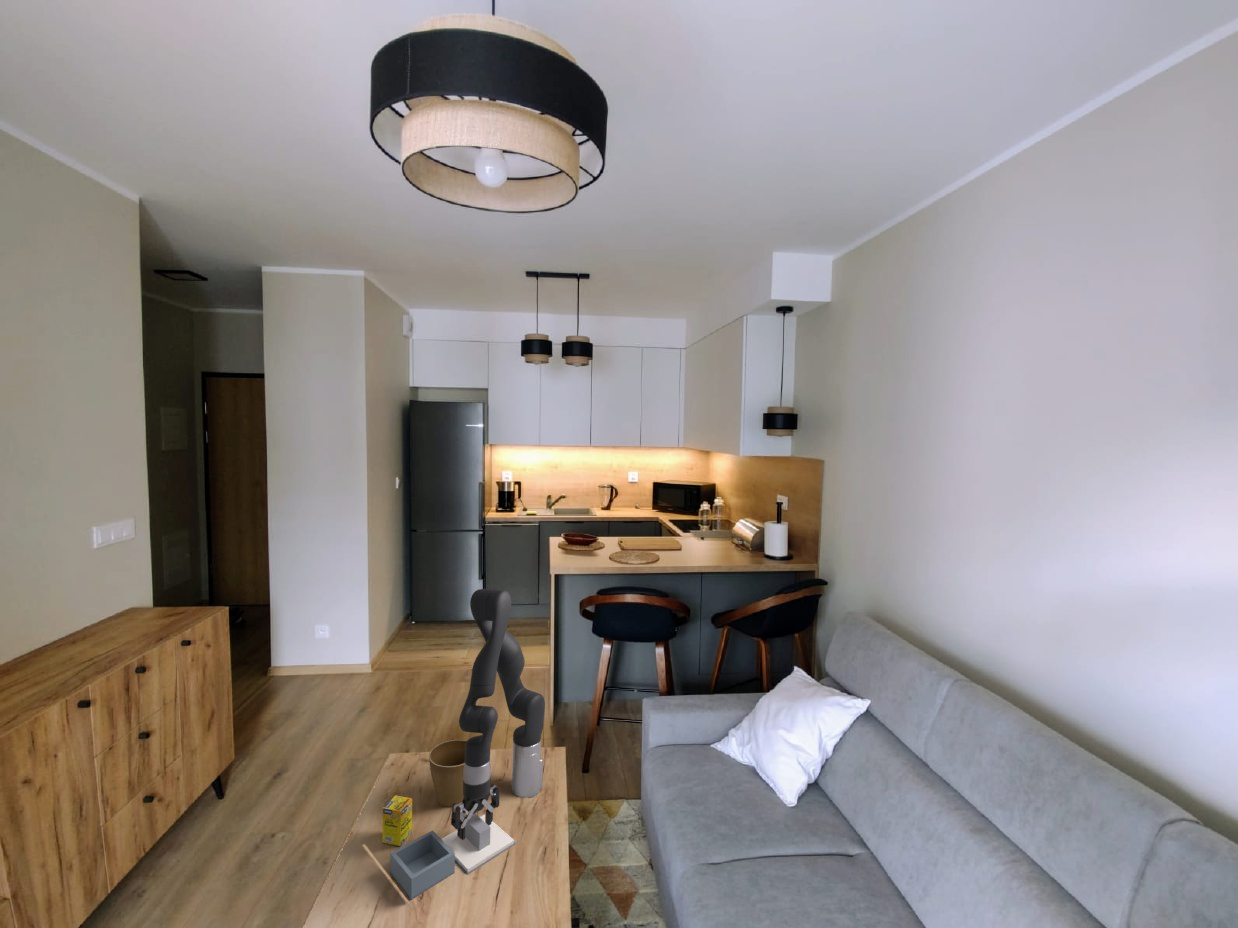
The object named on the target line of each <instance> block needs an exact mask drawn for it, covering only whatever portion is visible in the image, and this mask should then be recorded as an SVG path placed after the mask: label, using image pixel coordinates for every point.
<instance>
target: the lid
mask: <svg viewBox="0 0 1238 928" xmlns="http://www.w3.org/2000/svg"><path fill="white" fill-rule="evenodd" d="M457 833H458V829H455V830H454V831H452V832H451V833H449V834H447V835H446V836H443V837H442V838H440V839H441V840H442V841H443V842H444V843H445V844H446V845H447V846H448V847H449V848H450V849H451V850H452V851H453V852H454V853H455V860H456V861H457V862H458V863H459V864H460V865H461V866H462V867H463V868H464V869H465V870H466V872H467V873H469V872H470V871H472V870H473V869H475V868H476V867H478V866H480V865H481V864H483V863H484V862H486V861H487V860H489V859H491V858H492V857H494V856H495V855H497V854H498V853H500V852H502V851H503V850H505V849H506V848H508V847H509V846H511V845H513V844H514V842H515V840H514V838H513V837H511V836H510V835H509V834H508V833H507V832H506V831H504V830H503V829H502V827H500V826H499V825H498V824H497V823H495V822H494V821H493V820H492V822H491V825H488V824H486V822H485V814H483V815H480V816H479V815H478V814H477V813H475V814H472V816H471V818H470V820H468V821H467V823H466V825H465V839H464V840H461V839H460V838H459V837H458V835H457Z"/></svg>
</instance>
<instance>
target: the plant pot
mask: <svg viewBox="0 0 1238 928" xmlns="http://www.w3.org/2000/svg"><path fill="white" fill-rule="evenodd" d="M467 741H468V740H464V739H452V740H447V741H443V742H441V743H439V744H436V745H435V746H433V748H432V749H431V750H430V752H429V754H428V760H429V761H428V762H429V768H430V774H431V778H432V779H431V780H432V783H433V786H434V791H435V794H436V797H437V799H438V801H439V804H440V805H442V806H443V807H447V808H452V806H453V804H454V803H456V804H459V803H462V801H463V770H464V763H465V745H466V742H467Z"/></svg>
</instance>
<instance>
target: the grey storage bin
mask: <svg viewBox="0 0 1238 928" xmlns="http://www.w3.org/2000/svg"><path fill="white" fill-rule="evenodd" d="M441 839H442V838H440V836H439V835H438V834H437V833H436V832H435V831H434V830H431V831H429V832H426V833H425V834H423V835H421V836H419V837H417V838H416V839H414V840H412V841H410V842H408V843H407V844H405V845H403V846H400V847H399V848H397V849H395V850H393V851H391V852H390V853H389V854H390V855H389V858H390V859H389V860H390V861H389V862H390V864H389V865H390V866H389V873H390V874H391V877H393V879H394V880H395V881H396V882H397V884H398V885H399V886H400V888H402V890H403V891H404V893H405V894H406V896H408V898H409V899H410V900H414V899H416V898H417V897H419V896H420V895H422V894H423V893H425V892H427V891H428V890H430V889H432V888H433V887H435V886H436V885H438V884H440V883H441V882H442V881H445V879H447V878H449V877H451V876H452V875H454V874H455V870H456V867H455V866H456V863H455V853H454V852H453V851H452V850H451V849H450V848H449V847H448V846H447V845H446V844H445V843H444V842H443V841H442V840H441Z"/></svg>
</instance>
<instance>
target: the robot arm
mask: <svg viewBox="0 0 1238 928" xmlns="http://www.w3.org/2000/svg"><path fill="white" fill-rule="evenodd" d="M469 606H470V607H469V608H470V612H471V615H472V617H473V619H474V621H475V623H476V626H477V627H478V629H479V631H480V633H481V634H482V636H483V639H484V641H485V644H484V645H483V647H482V648H481V649H480V651H479V652H478V654H477V655H476V657H475V660H474V661H473V665H472V669H471V675H470V676H471V677H470V683H469V690H468V693H467V697H466V700H465V702H464V705H463V707H462V710H461V712H460V714H459V719H458V724H459V728H460V729H461V730H462V732H464V733H465V732H466V733H473V734H474V733H475V734H476V733H477V734H482V735H475V736H472V737H470V738H468V739H467V740H466V741H467V742H466V745H465V763H464V770H463V801H462V802H461V803H459V804H456V803H454V804H453V806H452V807H451V818H450V825H451V826H452V827H453V828H454V829H455V830H458V833H457V835H458V837H459V838H460V839H461V840H464V839H465V825H466V823H467V821H468V820H470V818H471V816H472V815H473V814H477V812H480V811H482V810H483V809H484V808H485V814H484V815H485V822H486V824H488V825H491V822H492V821H493V819H494V811H495V809H496V808H499V806H500V787H498V786H497V785H496V784H494V783H492V784H491V769H492V766H491V765H492V764H491V747H492V746H491V745H492V744H491V743H492V740H493V736H494V731H495V729H496V725H497V723H498V717H499V715H498V711H497V709H496V708H495V707H493V706H489V705H488V706H487V705H477V702H478V700H479V699H484V698H490V697H492V696H493V695H494V694H495V689H496V681H497V674H498V678H499V680H500V683H501V686H502V689H503V693H504V696H505V697H504V698H505V703H506V707H507V709H508V712H509V713H510V715H511V716H512V717H514V718H516V719H518V720H521V721H523V722H524V724H523V725H518V727H516V728H515V729H514V731H513V734H512V768H511V769H512V770H511V773H512V774H511V792H512V793H513V795H515V796H517V797H519V798H527V799H529V798H530V799H531V798H533V797H535V796H536V795H537V794H538V793H540V790H541V789H542V788H543V773H544V771H543V770H544V769H543V767H544V759H542V755H541V754H542V734H543V730H544V723H545V711H546V706H545V705H546V701H545V697H544V696H543V694H541V693H539V692H536V691H533V690H530V689H527V688H526V687H525V685H523V682H522V679H521V675H522V673H523V670H524V667H525V656H524V653H523V649H522V647H521V645H520V643H519V641H518V640H517V639H516V638H515V637H514V635H512V634H511V633H510V631H508V630H507V629H508V624H509V620H510V615H511V611H512V596H511V593H509V591H507V590H505V589H498V588H497V589H495V588H480V589H477V590H475V591H474V592H473V593H472V594H471V596H470V601H469ZM490 798H491V799H490ZM489 799H490V801H491V802H490V803H489V802H488V800H489Z"/></svg>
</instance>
